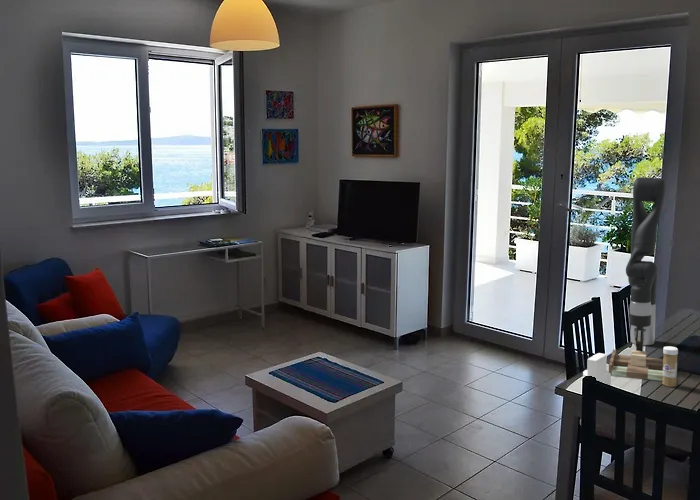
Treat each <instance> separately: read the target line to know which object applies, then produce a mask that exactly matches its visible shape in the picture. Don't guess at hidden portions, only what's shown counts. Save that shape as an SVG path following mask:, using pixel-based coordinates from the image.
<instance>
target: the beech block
mask: <svg viewBox="0 0 700 500" xmlns="http://www.w3.org/2000/svg"><path fill="white" fill-rule="evenodd" d="M647 353H648V352H647V351H646V350H645V351H644V350H643V351H636V349H635V350H633V349H632V350H631V355H630V356H631V365H634V366H643V367H646V357H647Z"/></svg>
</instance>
